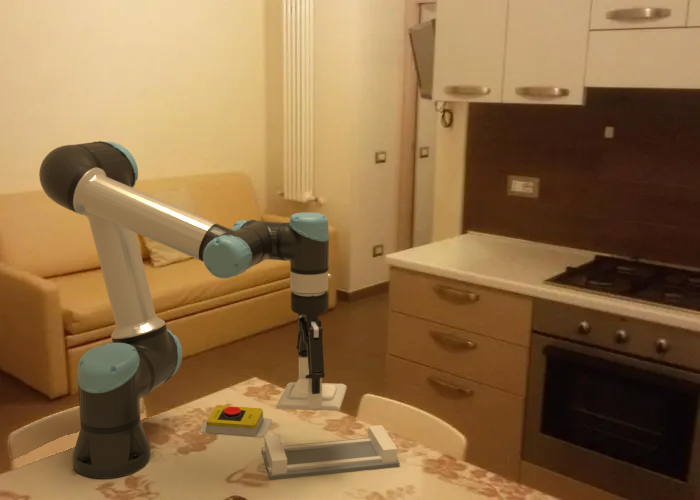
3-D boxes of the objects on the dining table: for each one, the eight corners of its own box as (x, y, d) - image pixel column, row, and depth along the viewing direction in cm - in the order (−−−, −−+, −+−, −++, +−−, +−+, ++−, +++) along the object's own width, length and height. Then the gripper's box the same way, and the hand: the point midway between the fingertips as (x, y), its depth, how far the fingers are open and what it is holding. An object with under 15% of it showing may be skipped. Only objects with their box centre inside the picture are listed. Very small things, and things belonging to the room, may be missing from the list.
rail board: (269, 479, 147) (270, 462, 146) (261, 450, 159) (261, 434, 158) (399, 466, 154) (400, 449, 153) (382, 439, 165) (383, 423, 165)
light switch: (286, 371, 158) (346, 373, 156) (287, 389, 159) (347, 391, 157) (275, 392, 148) (339, 394, 146) (276, 412, 149) (339, 414, 147)
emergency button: (210, 399, 174) (273, 403, 173) (210, 416, 175) (273, 421, 174) (198, 416, 165) (265, 421, 164) (198, 434, 166) (264, 439, 165)
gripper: (340, 306, 137) (340, 418, 142) (317, 276, 158) (317, 374, 163) (300, 308, 135) (301, 421, 140) (282, 278, 157) (283, 377, 162)
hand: (309, 396), depth 152 cm, fingers closed on light switch, 10 cm apart
